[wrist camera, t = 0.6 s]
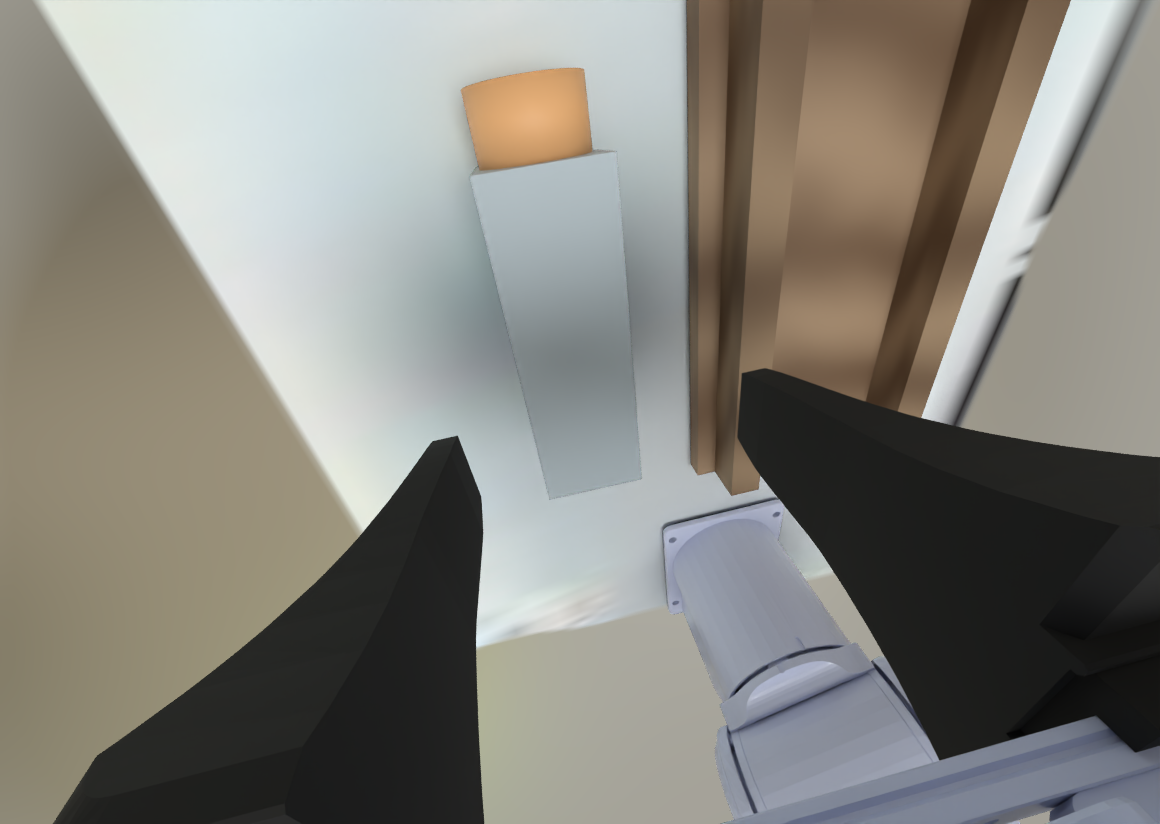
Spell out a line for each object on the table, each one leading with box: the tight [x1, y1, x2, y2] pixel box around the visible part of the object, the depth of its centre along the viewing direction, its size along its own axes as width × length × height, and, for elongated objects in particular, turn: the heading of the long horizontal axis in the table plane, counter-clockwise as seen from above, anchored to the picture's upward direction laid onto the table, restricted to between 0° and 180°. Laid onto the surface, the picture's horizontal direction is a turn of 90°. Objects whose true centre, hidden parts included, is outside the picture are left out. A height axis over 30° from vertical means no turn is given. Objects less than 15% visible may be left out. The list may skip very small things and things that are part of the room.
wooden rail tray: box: [687, 0, 1071, 496], centre depth 18 cm, size 21×12×3 cm, turn 9°
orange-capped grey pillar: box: [461, 68, 642, 500], centre depth 16 cm, size 14×4×5 cm, turn 8°
